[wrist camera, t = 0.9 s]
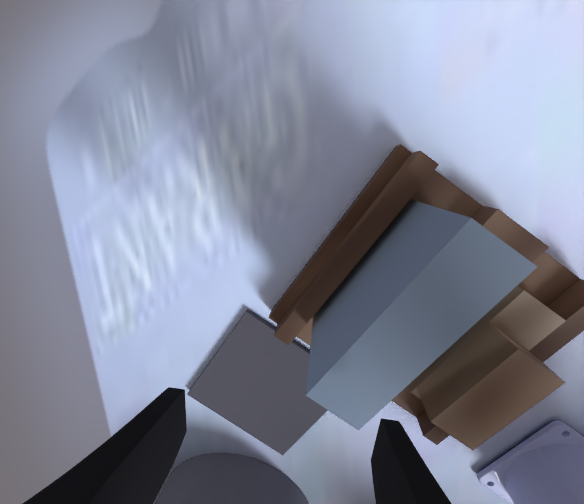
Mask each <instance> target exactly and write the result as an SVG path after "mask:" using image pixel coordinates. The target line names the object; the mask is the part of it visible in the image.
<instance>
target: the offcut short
mask: <svg viewBox="0 0 584 504" xmlns="http://www.w3.org/2000/svg"><path fill="white" fill-rule="evenodd" d="M564 383H565V382H564V381H563V380H562V379H561V378H560V377H558V376H557V375H556V374H555V373H554V372H553V371H552V370H550V369H549V368H548V367H547V366H546V365H545V364H543V363H542V362H541V361H540V360H539V359H538V358H537V357H535V356H534V355H533V354H532V353H531V352H530V351H529V350H527V349H526V348H524V347H523V346H522V345H520V344H519V343H517V342H516V341H515V340H513V339H512V338H510V337H509V336H508V335H506V334H505V333H503V332H502V331H501V330H499V329H498V328H496V327H495V326H494V325H492V324H491V323H487V324H486V325H485V326H484V327H483V328H482V329H481V330H480V331H478V332H477V333H476V334H475V335H474V336H473V337H472V338H471V339H470V340H468V341H467V342H466V343H465V344H464V345H463V346H462V347H461V348H460V349H458V350H457V351H456V352H455V353H454V354H453V355H452V356H451V357H449V358H448V359H447V360H446V361H445V362H444V363H443V364H442V365H441V366H439V367H438V368H437V369H436V370H435V371H434V372H433V373H432V374H431V375H429V376H428V377H427V378H426V379H425V380H424V381H423V382H422V383H420V384H419V385H418V386H417V387H416V388H417V391H418V393H419V396H420V398H421V400H422V403H423V405H424V407H425V410H426V412H427V415H428V417H429V419H430V422H432V423H433V424H435V425H436V426H438V427H439V428H440V429H442V430H443V431H445V432H446V433H448V434H449V435H451V436H452V437H454V438H455V439H457V440H458V441H460V442H461V443H463V444H464V445H466V446H467V447H469V448H470V449H472V450H474V449H475V448H477V447H478V446H479V445H481V444H482V443H483V442H485V441H486V440H488V439H489V438H490V437H492V436H493V435H494V434H496V433H497V432H498V431H500V430H501V429H503V428H504V427H505V426H507V425H508V424H509V423H511V422H512V421H514V420H515V419H516V418H518V417H519V416H520V415H522V414H523V413H524V412H526V411H527V410H529V409H530V408H531V407H533V406H534V405H535V404H537V403H538V402H539V401H541V400H542V399H544V398H545V397H546V396H548V395H549V394H550V393H552V392H553V391H554V390H556V389H557V388H559V387H560V386H561V385H563V384H564Z"/></svg>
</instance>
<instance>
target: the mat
mask: <svg viewBox="0 0 584 504" xmlns="http://www.w3.org/2000/svg"><path fill="white" fill-rule="evenodd" d="M275 330H276V328H275V327H274V326H272V325H271V324H269V323H268V322H266V321H265V320H263V319H262V318H260V317H259V316H257V315H256V314H254V313H253V312H251V311H250V310H247V311H246V313H245V314H244V316H243V317H242V318H241V320H240V321H239V323H238V324H237V325H236V327H235V328H234V329H233V331H232V332H231V334H230V335H229V336H228V338H227V339H226V341H225V342H224V343H223V345H222V346H221V347H220V349H219V350H218V352H217V353H216V354H215V356H214V357H213V359H212V360H211V361H210V363H209V364H208V366H207V367H206V368H205V370H204V371H203V372H202V374H201V375H200V377H199V378H198V379H197V381H196V382H195V384H194V385H193V386H192V388H191V389H190V391H189V392H188V395H189V396H191V397H192V398H194V399H195V400H197V401H199V402H200V403H202V404H203V405H205V406H206V407H208V408H209V409H211V410H213V411H214V412H216V413H217V414H219V415H220V416H222V417H224V418H225V419H227V420H228V421H230V422H231V423H233V424H235V425H236V426H238V427H239V428H241V429H242V430H244V431H246V432H247V433H249V434H250V435H252V436H253V437H255V438H257V439H258V440H260V441H261V442H263V443H264V444H266V445H268V446H269V447H271V448H272V449H274V450H275V451H277V452H279V453H280V454H282V455H283V454H284V453H285V452H286V451H287V450H288V449H289V448H290V447H291V446H292V445H293V444H294V443H295V442H296V441H297V440H298V439H299V438H300V437H301V436H302V435H303V434H304V433H305V432H306V431H307V430H308V429H309V428H310V427H311V426H312V425H313V424H314V423H315V422H316V421H317V420H318V419H319V418H320V417H321V416H322V415H323V414H324V413H325V412H326V411H327V409H326V408H324V407H323V406H321V405H319V404H318V403H316V402H315V401H313V400H312V399H310V398H309V397H307V396H306V387H307V377H308V366H309V355H310V351H309V350H308V349H306V348H305V347H303V346H302V345H300V344H299V343H297V342H296V341H294V340H293V341H292V342H291V343H290V344H289V346H288V345H287V344H285V343H284V342H282V341H281V340H279V339H278V338H276V337H275V336H274V334H275Z"/></svg>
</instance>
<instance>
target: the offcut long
mask: <svg viewBox="0 0 584 504" xmlns="http://www.w3.org/2000/svg"><path fill="white" fill-rule="evenodd" d="M565 321H566V320H564V319H563V318H562V317H560V316H559V315H557V314H556V313H555V312H553V311H552V310H551V309H549V308H548V307H547V306H545V305H544V304H542V303H541V302H540V301H538V300H537V299H536V298H534V297H533V296H532V295H530V294H529V293H527V292H526V291H525V290H523V289H521V288H520V287H518V286H516V287H515V288H514V289H513V290H512V291H511V292H510V293H508V294H507V295H506V296H505V297H504V298H503V299H502V300H501V301H500V302H499V303H497V304H496V305H495V306H494V307H493V308H492V309H491V310H490V311H489V312H488V313H487V314H485V315H484V316H483V317H482V318H481V319H480V320H479V321H478V322H477V323H476V324H474V325H473V326H472V327H471V328H470V329H469V330H468V331H467V332H466V333H465V334H464V335H462V336H461V337H460V338H459V339H458V340H457V341H456V342H455V343H454V344H453V345H451V346H450V347H449V348H448V349H447V350H446V351H445V352H444V353H443V354H442V355H440V356H439V357H438V358H437V359H436V360H435V361H434V362H433V363H432V364H431V365H430V366H428V367H427V368H426V369H425V370H424V371H423V372H422V373H421V374H420V375H419V376H417V377H416V378H415V379H414V380H413V381H412V382H411V383H410V384H409V385H408V387H409V389H410V392H411V393H412V394H414V395H415V396H417V397H418V398H420V396H419V393H418V391H417V388H416V387H417V386H418V385H419V384H420V383H422V382H423V381H424V380H425V379H426V378H427V377H428V376H429V375H431V374H432V373H433V372H434V371H435V370H436V369H437V368H438V367H439V366H441V365H442V364H443V363H444V362H445V361H446V360H447V359H448V358H449V357H451V356H452V355H453V354H454V353H455V352H456V351H457V350H458V349H460V348H461V347H462V346H463V345H464V344H465V343H466V342H467V341H468V340H470V339H471V338H472V337H473V336H474V335H475V334H476V333H477V332H478V331H480V330H481V329H482V328H483V327H484V326H485V325H486V324H487V323H491V324H492V325H494V326H495V327H496V328H498V329H499V330H501V331H502V332H503V333H505V334H506V335H508V336H509V337H510V338H512V339H513V340H515V341H516V342H517V343H519V344H520V345H522V346H523V347H524V348H526V349H527V350H530V349H532V348H533V347H534V346H535V345H537V344H538V343H539V342H540V341H542V340H543V339H544V338H545V337H546V336H548V335H549V334H550V333H551V332H553V331H554V330H555V329H556V328H558V327H559V326H560V325H561V324H563V323H564V322H565ZM420 399H421V398H420Z"/></svg>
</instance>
